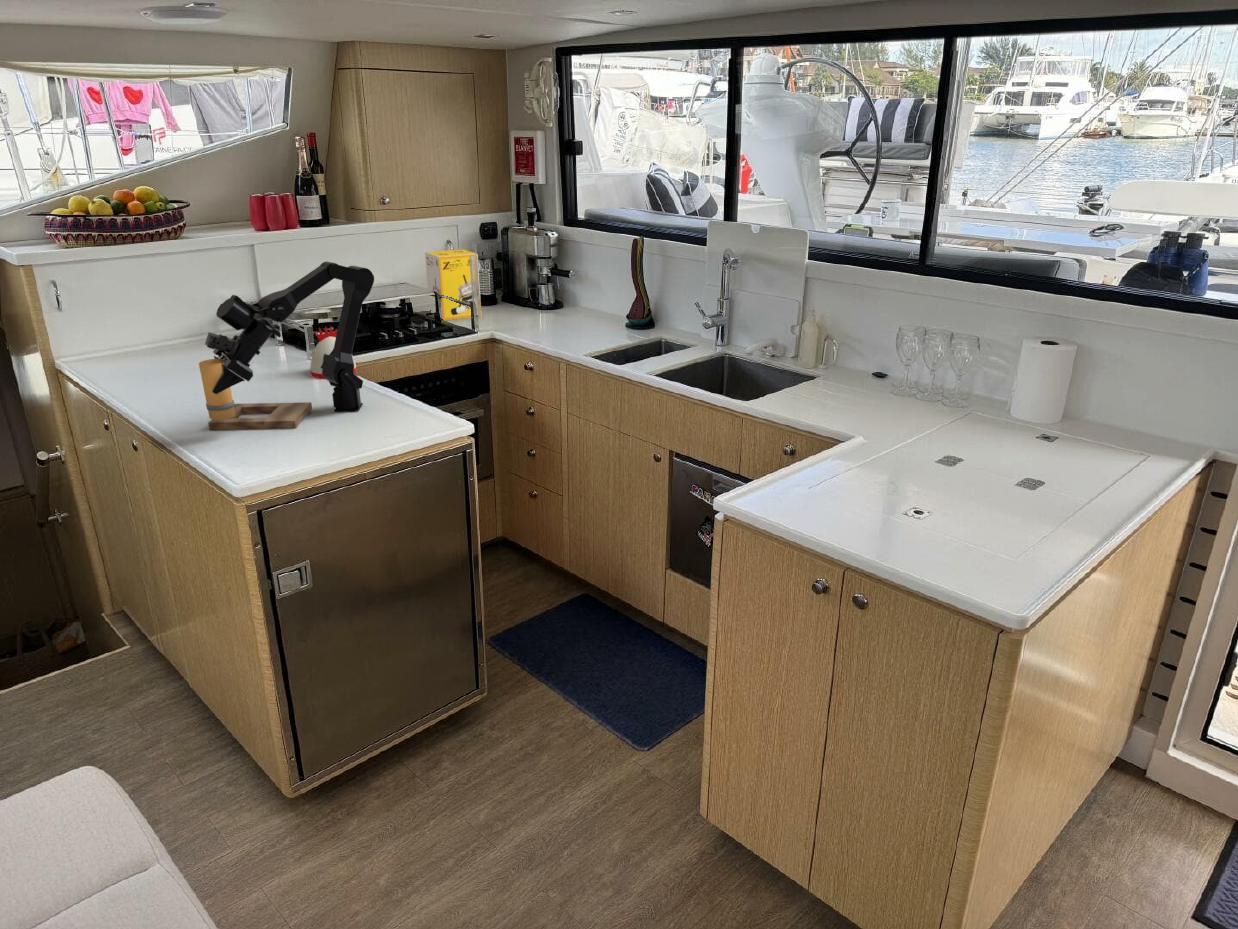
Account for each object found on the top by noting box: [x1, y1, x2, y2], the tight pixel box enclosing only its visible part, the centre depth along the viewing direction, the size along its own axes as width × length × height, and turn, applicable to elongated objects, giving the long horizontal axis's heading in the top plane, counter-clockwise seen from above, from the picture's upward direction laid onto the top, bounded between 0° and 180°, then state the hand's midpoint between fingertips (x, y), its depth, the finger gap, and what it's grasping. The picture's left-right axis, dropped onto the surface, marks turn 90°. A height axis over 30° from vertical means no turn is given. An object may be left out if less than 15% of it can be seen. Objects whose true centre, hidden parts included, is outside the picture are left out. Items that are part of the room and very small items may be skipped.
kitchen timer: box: [309, 325, 358, 380], centre depth 274 cm, size 14×14×15 cm
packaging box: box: [424, 248, 482, 322], centre depth 354 cm, size 16×16×25 cm
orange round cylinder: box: [198, 358, 235, 420], centre depth 217 cm, size 6×6×14 cm
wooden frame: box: [207, 401, 313, 431], centre depth 234 cm, size 22×16×2 cm
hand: (211, 389), depth 217 cm, fingers closed on orange round cylinder, 6 cm apart
